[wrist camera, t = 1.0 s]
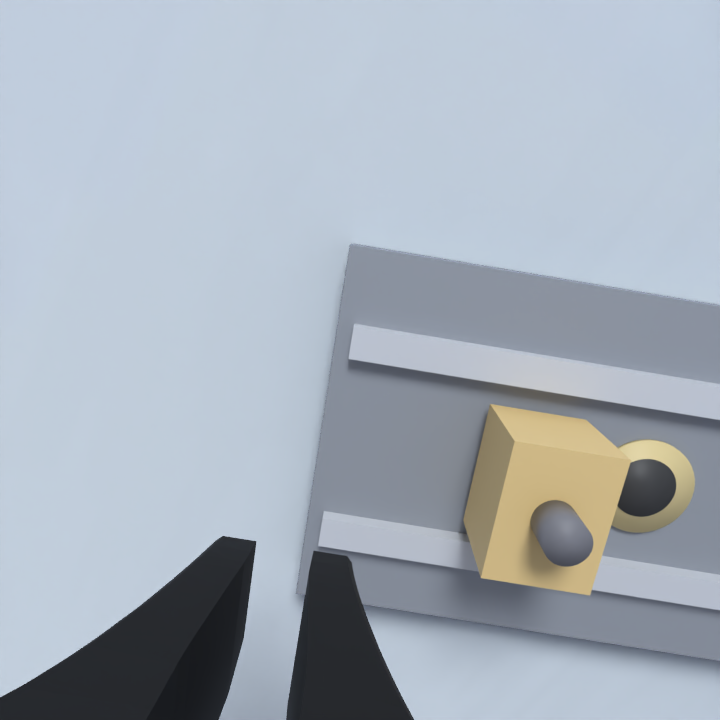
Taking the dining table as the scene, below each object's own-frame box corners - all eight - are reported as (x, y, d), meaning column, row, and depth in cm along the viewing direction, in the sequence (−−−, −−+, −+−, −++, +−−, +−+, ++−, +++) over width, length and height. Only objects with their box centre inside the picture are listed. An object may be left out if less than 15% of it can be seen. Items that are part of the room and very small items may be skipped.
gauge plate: (929, 340, 18) (1177, 389, 12) (800, 646, 20) (954, 798, 15) (352, 243, 17) (341, 250, 12) (301, 567, 20) (274, 691, 15)
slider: (586, 419, 17) (652, 480, 13) (554, 534, 18) (606, 624, 14) (489, 404, 17) (526, 459, 13) (463, 520, 18) (489, 605, 14)
